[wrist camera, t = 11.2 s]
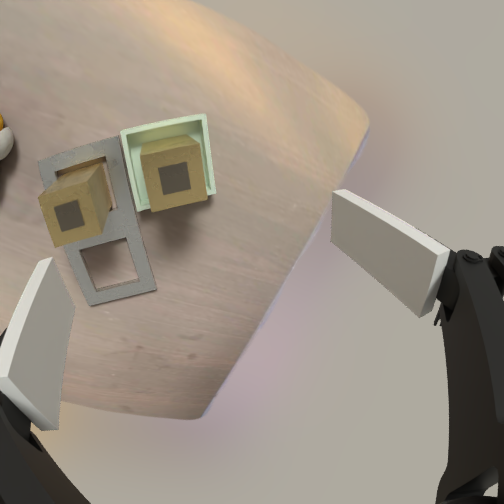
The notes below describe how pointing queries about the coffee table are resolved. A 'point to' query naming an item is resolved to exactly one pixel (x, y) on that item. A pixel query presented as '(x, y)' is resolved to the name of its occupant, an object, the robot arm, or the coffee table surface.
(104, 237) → the grey frame plate
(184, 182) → the brass block
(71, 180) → the tan textured tower
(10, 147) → the colorful toy
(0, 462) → the robot arm
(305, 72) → the coffee table surface
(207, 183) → the tray
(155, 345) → the coffee table surface
